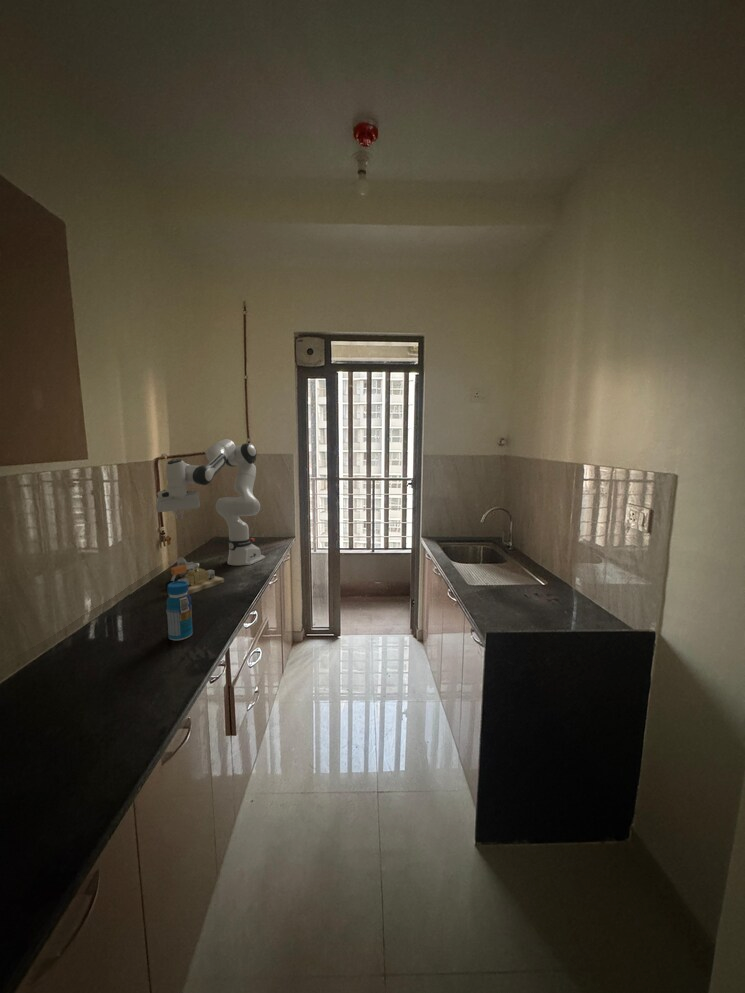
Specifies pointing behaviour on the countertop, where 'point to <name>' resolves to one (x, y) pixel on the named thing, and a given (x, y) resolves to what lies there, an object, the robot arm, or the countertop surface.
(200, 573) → the pipe and valve body
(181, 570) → the valve lever
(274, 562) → the countertop surface
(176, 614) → the beverage bottle
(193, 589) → the valve board
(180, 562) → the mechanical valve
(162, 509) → the robot arm
